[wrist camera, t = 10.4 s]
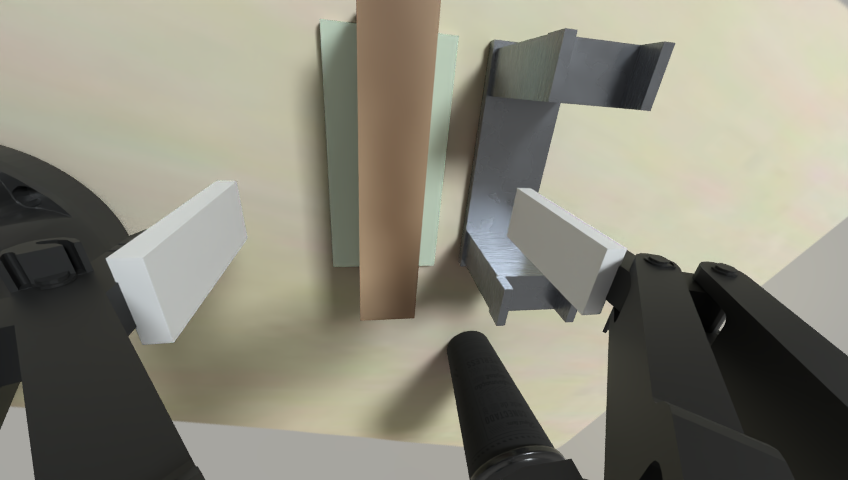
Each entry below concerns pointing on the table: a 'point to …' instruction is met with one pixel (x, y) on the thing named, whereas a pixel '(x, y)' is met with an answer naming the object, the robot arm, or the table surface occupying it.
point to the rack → (538, 146)
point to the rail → (393, 147)
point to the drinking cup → (493, 412)
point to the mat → (344, 139)
